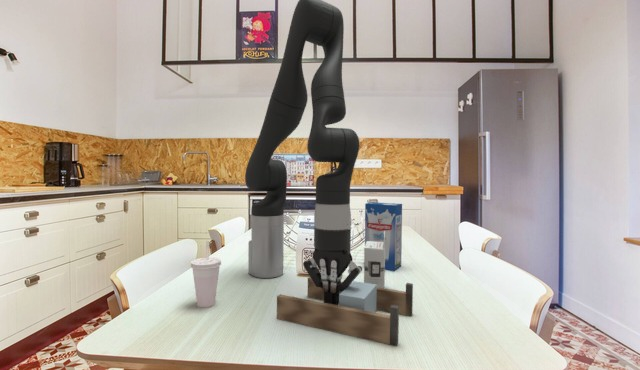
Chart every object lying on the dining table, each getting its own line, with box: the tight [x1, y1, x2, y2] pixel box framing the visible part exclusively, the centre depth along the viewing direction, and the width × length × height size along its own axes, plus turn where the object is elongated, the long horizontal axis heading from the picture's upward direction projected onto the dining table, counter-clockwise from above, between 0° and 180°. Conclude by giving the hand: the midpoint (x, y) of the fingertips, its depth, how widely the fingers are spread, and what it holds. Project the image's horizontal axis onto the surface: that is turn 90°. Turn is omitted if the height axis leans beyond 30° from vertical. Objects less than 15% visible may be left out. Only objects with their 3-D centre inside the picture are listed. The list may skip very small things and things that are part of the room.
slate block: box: [339, 280, 377, 313], centre depth 66 cm, size 5×9×6 cm, turn 156°
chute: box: [276, 276, 414, 347], centre depth 68 cm, size 24×14×6 cm, turn 64°
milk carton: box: [364, 201, 403, 272], centre depth 105 cm, size 10×6×20 cm, turn 58°
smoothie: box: [190, 240, 222, 308], centre depth 73 cm, size 6×6×14 cm
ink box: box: [363, 231, 386, 288], centre depth 82 cm, size 9×5×15 cm, turn 168°
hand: (331, 308), depth 69 cm, fingers closed
